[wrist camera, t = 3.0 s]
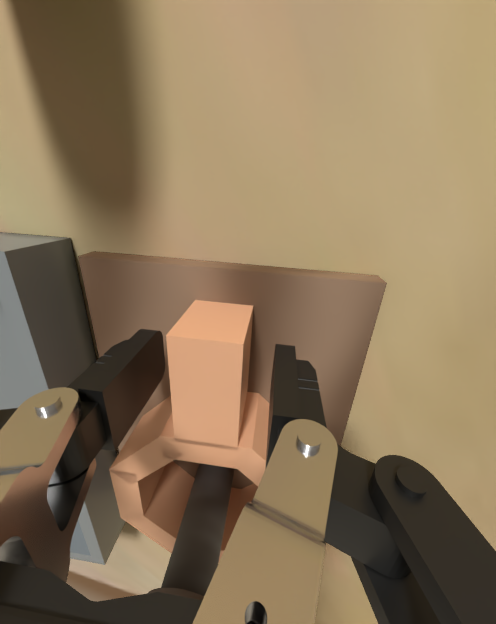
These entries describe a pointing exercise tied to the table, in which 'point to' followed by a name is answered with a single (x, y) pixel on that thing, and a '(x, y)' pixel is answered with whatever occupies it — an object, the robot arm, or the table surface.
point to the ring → (195, 424)
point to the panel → (265, 334)
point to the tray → (52, 360)
